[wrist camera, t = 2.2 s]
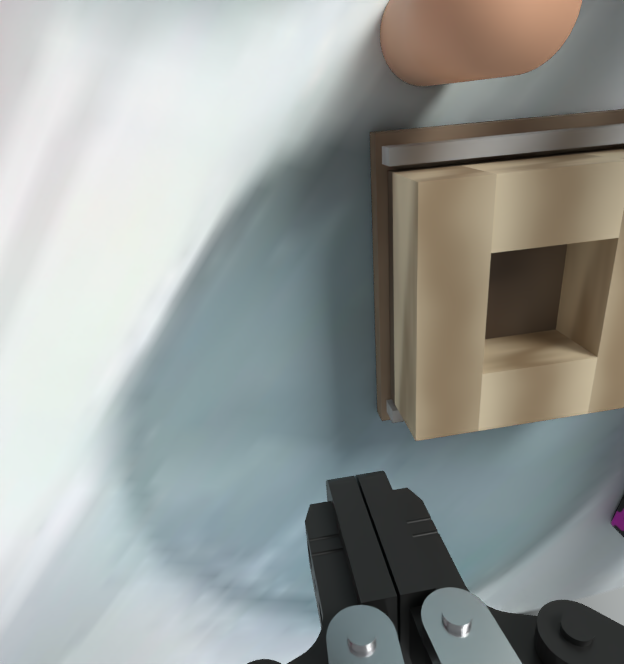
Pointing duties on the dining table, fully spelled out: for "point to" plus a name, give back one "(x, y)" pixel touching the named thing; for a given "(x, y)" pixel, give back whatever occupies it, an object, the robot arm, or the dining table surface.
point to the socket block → (506, 291)
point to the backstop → (452, 149)
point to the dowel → (472, 37)
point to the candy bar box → (619, 519)
